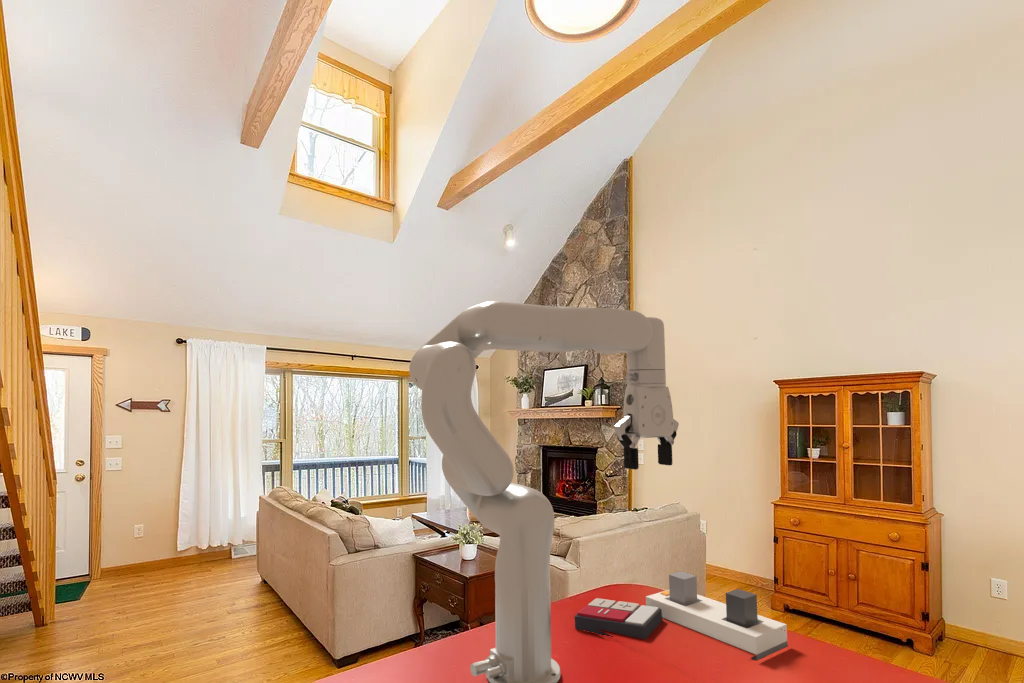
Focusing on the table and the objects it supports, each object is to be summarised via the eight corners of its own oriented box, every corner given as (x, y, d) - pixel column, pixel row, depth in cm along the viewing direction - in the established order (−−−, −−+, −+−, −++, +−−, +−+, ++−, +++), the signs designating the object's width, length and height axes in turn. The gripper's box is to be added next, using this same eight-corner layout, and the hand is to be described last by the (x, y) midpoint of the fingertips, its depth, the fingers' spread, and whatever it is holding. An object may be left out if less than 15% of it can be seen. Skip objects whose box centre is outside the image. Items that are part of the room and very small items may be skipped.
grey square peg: (685, 619, 121) (684, 579, 122) (670, 613, 124) (668, 574, 125) (697, 615, 123) (696, 575, 124) (682, 609, 127) (681, 571, 127)
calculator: (594, 595, 129) (661, 604, 121) (596, 616, 129) (663, 626, 121) (573, 612, 120) (644, 622, 112) (574, 634, 119) (646, 646, 111)
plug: (745, 643, 110) (744, 598, 110) (727, 635, 113) (725, 592, 114) (758, 637, 112) (756, 594, 113) (739, 630, 115) (738, 588, 116)
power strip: (756, 660, 105) (755, 635, 105) (646, 615, 126) (645, 595, 126) (787, 646, 110) (786, 622, 111) (676, 605, 132) (676, 585, 132)
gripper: (629, 379, 109) (631, 472, 107) (689, 379, 119) (692, 465, 117) (601, 379, 115) (603, 468, 114) (660, 380, 125) (663, 461, 123)
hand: (648, 466), depth 115 cm, fingers open, 9 cm apart
